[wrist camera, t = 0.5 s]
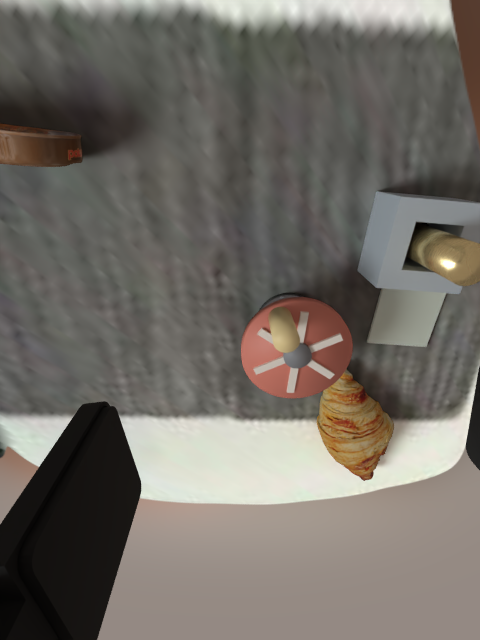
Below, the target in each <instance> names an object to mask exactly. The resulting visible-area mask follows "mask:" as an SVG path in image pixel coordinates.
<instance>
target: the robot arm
mask: <svg viewBox="0 0 480 640" xmlns="http://www.w3.org/2000/svg"><path fill="white" fill-rule="evenodd" d="M466 450H467V453H468V456H469V458H470V459H471V461H472V462H473V463H474V464H475V465H476V467H477V468H478V469H479V470H480V367H479V372H478V377H477V383H476V389H475V395H474V401H473V406H472V412H471V418H470V424H469V430H468V436H467V441H466ZM140 494H141V480H140V477H139V474H138V471H137V468H136V465H135V462H134V459H133V456H132V453H131V450H130V447H129V444H128V442H127V439H126V436H125V433H124V430H123V427H122V424H121V421H120V418H119V415H118V412H117V410H116V408H115V407H114V406H110V405H109V404H108V403H107V402H105V401H104V402H96V403H87V404H83V405H82V406H81V407H80V408H79V409H78V411H77V412H76V414H75V415H74V417H73V418H72V420H71V421H70V423H69V424H68V426H67V427H66V429H65V430H64V431H63V433H62V434H61V436H60V437H59V439H58V440H57V442H56V443H55V445H54V446H53V448H52V449H51V451H50V452H49V454H48V455H47V457H46V458H45V459H44V461H43V462H42V464H41V465H40V467H39V468H38V470H37V471H36V473H35V474H34V476H33V477H32V479H31V480H30V482H29V483H28V485H27V486H26V488H25V489H24V491H23V492H22V493H21V495H20V496H19V498H18V499H17V501H16V502H15V504H14V505H13V507H12V508H11V510H10V511H9V513H8V514H7V515H6V517H5V518H4V520H3V521H2V523H1V524H0V640H97V638H98V635H99V631H100V628H101V625H102V621H103V618H104V615H105V611H106V608H107V604H108V601H109V598H110V595H111V591H112V588H113V585H114V581H115V578H116V575H117V571H118V568H119V565H120V561H121V558H122V555H123V551H124V548H125V545H126V541H127V538H128V535H129V531H130V528H131V525H132V521H133V518H134V515H135V511H136V508H137V505H138V501H139V498H140Z"/></svg>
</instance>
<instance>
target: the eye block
mask: <svg viewBox="0 0 480 640" xmlns="http://www.w3.org/2000/svg"><path fill="white" fill-rule="evenodd" d="M416 222H426V223H429V227H432V228H435V229H438V230H441V231H444V232H447V233H450V234H453V235H456V236H459V237H461V238H464V239H467V240H470V241H473V242H476V243H480V202H475V201H469V200H463V199H457V198H447V197H436V196H425V195H414V194H402V193H391V192H380V191H376V195H375V200H374V204H373V208H372V212H371V216H370V220H369V224H368V228H367V233H366V237H365V241H364V245H363V249H362V253H361V257H360V262H359V266H358V270H357V271H358V272H359V273H360V274H362V275H363V276H364V277H365V278H366V279H367V280H368V281H369V282H370V283H371V284H373V285H374V286H375V287H376V288H386V289H399V290H412V291H425V292H438V293H452V294H460V292H461V289H462V286H459V285H456V284H454V283H453V282H451V281H449V280H447V279H446V278H444V277H442V276H440V275H438V274H437V273H435V272H433V271H431V270H430V269H428V268H426V267H424V266H422V265H421V264H419V263H417V262H415V261H414V260H412V259H410V258H408V257H406V254H407V250H408V247H409V244H410V240H411V237H412V234H413V230H414V227H415V224H416Z"/></svg>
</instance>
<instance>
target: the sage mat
mask: <svg viewBox="0 0 480 640" xmlns="http://www.w3.org/2000/svg"><path fill="white" fill-rule="evenodd" d="M445 295H446V293H438V292H425V291H412V290H399V289H386V288H381V291H380V295H379V298H378V302H377V306H376V309H375V313H374V316H373V320H372V323H371V327H370V331H369V334H368V338H367V343H377V344H391V345H406V346H421V347H426V346H427V344H428V341H429V338H430V336H431V333H432V330H433V328H434V325H435V322H436V319H437V317H438V314H439V311H440V309H441V306H442V303H443V301H444V298H445Z"/></svg>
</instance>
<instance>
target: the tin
mask: <svg viewBox="0 0 480 640" xmlns="http://www.w3.org/2000/svg"><path fill="white" fill-rule="evenodd" d="M81 162H82V148H81V135H79V134H76V133H72V132H65V131H56V130H49V129H40V128H32V127H24V126H15V125H7V124H0V164H10V165H21V166H37V167H60V166H67V165H70V164H73V163H81Z"/></svg>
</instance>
